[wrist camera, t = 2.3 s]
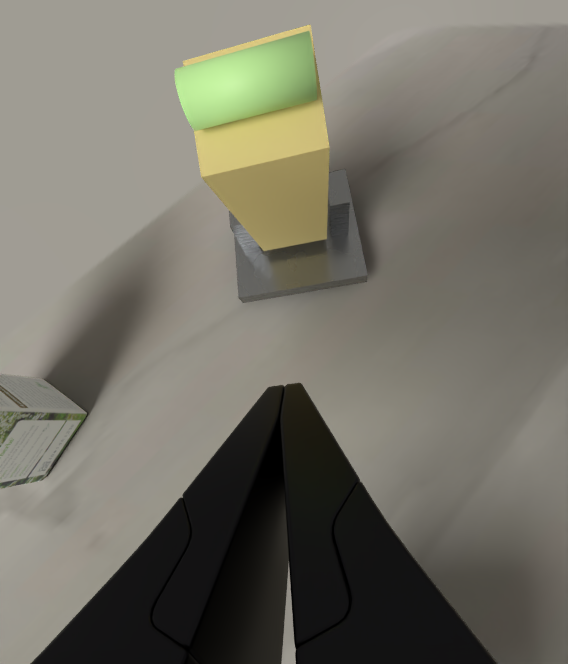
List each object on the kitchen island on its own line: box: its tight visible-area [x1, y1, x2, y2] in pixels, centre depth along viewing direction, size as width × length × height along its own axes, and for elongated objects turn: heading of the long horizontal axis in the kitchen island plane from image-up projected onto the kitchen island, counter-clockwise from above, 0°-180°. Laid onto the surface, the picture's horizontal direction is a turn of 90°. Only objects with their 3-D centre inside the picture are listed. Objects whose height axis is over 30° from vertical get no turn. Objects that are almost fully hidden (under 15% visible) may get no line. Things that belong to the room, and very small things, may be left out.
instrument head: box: [175, 25, 329, 251], centre depth 15 cm, size 4×4×13 cm
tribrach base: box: [229, 169, 368, 303], centre depth 22 cm, size 9×9×5 cm
